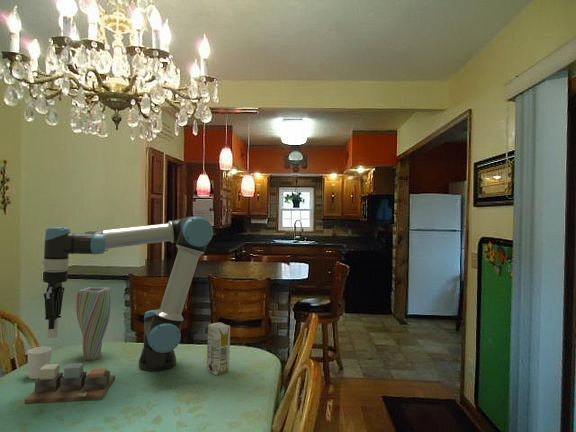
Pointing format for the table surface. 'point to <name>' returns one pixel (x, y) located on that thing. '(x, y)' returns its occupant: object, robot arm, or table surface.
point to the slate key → (73, 371)
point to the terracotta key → (98, 372)
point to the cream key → (49, 371)
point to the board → (70, 388)
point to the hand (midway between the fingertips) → (52, 337)
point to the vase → (93, 318)
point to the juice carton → (218, 348)
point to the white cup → (38, 360)
